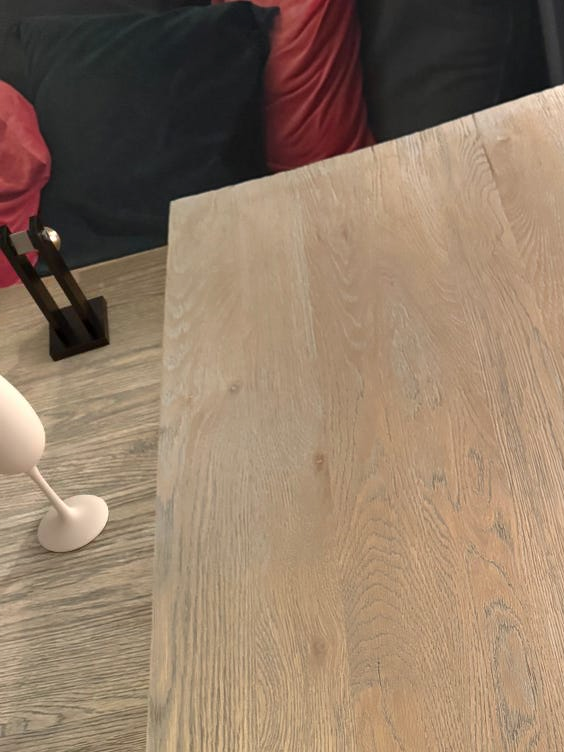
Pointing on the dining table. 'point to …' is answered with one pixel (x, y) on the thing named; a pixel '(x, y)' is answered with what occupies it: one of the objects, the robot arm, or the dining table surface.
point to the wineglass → (21, 454)
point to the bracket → (66, 325)
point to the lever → (25, 243)
